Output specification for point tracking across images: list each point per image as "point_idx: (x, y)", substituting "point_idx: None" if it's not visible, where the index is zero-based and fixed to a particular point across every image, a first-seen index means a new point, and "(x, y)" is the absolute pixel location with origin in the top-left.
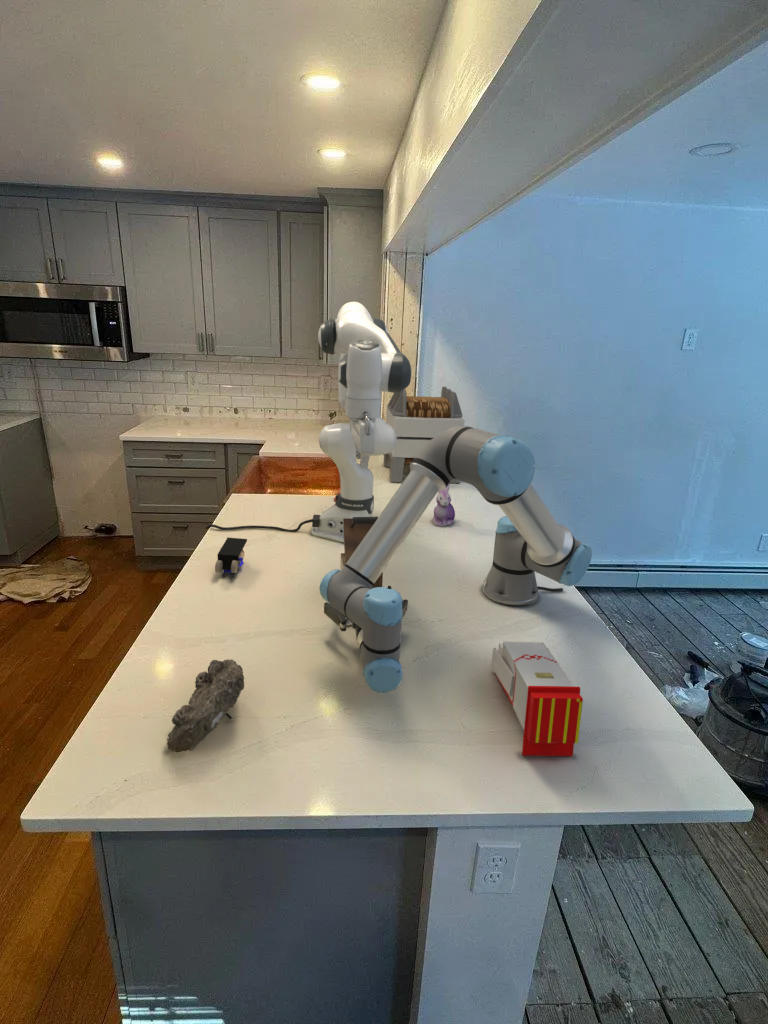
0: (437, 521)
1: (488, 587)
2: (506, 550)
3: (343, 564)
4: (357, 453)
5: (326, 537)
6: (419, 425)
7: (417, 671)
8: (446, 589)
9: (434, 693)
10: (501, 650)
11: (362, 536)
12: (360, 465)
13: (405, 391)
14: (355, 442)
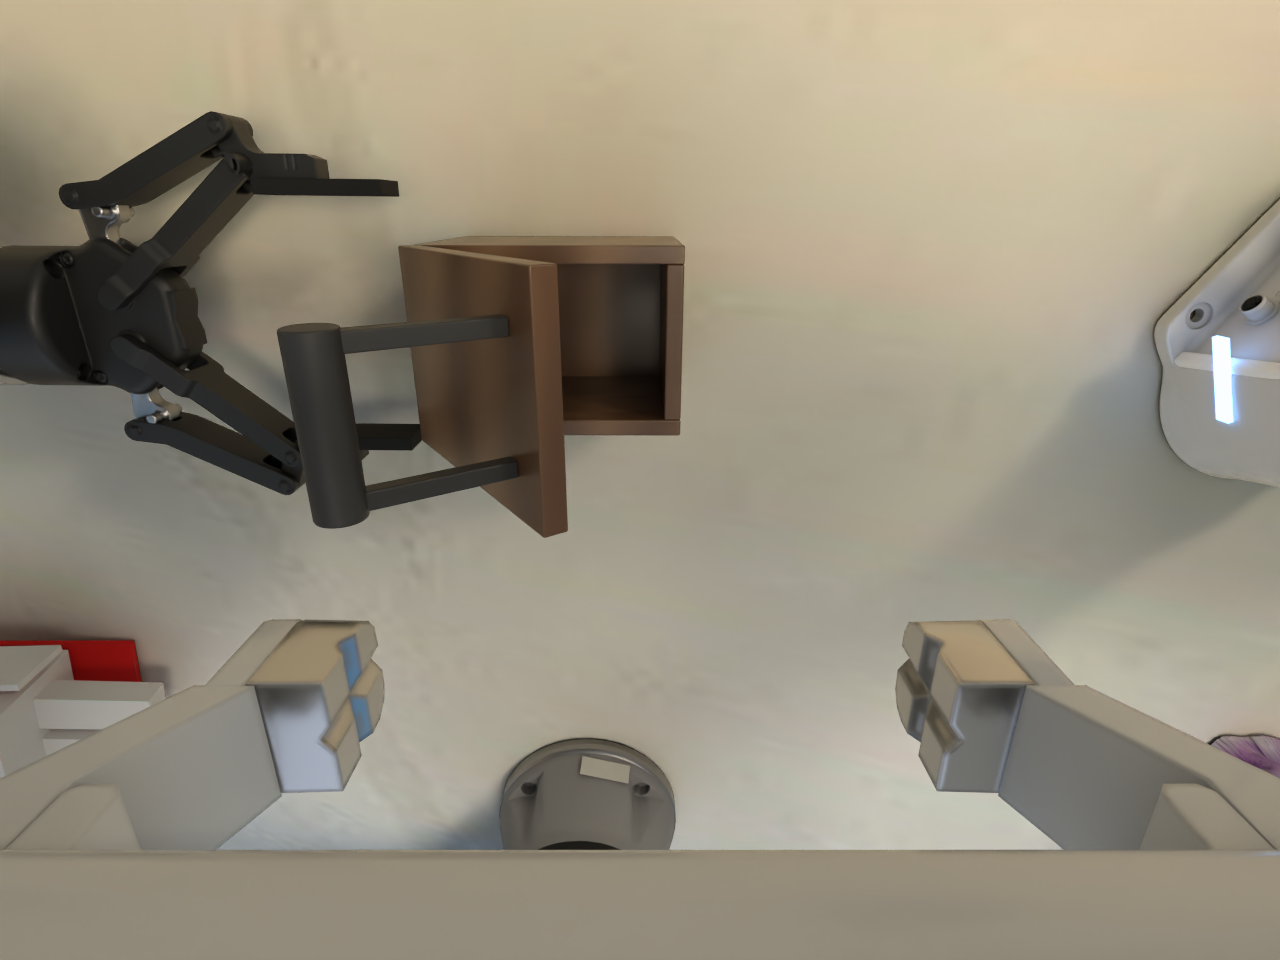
0: (1232, 753)
1: (567, 767)
2: None
3: (533, 246)
4: (945, 688)
5: (1268, 216)
6: None
7: (108, 437)
8: (634, 638)
9: (7, 462)
10: (111, 695)
11: (480, 381)
12: (326, 629)
13: None
14: (519, 930)
